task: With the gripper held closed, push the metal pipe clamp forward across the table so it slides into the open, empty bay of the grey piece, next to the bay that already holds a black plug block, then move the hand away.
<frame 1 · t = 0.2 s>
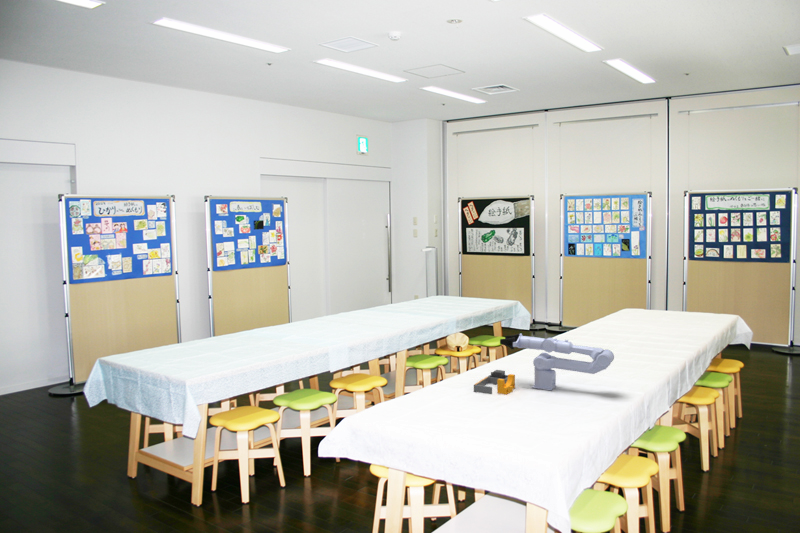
hand: (502, 339, 285), 21 cm above the table, tool horizontal, fingers open, 7 cm apart
pipe clamp: (508, 391, 272), on the table
grey piece: (493, 386, 279), on the table
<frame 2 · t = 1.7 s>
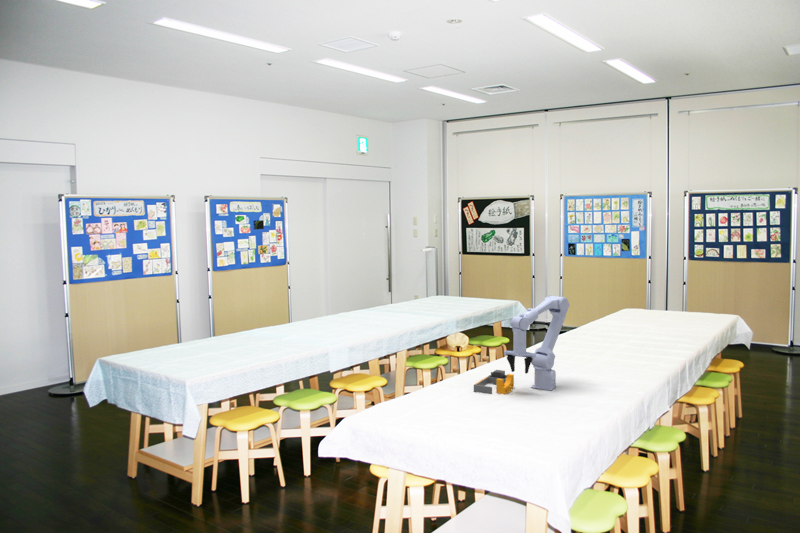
hand: (519, 372, 269), 9 cm above the table, tool pointing down, fingers open, 6 cm apart
nothing on the table moved.
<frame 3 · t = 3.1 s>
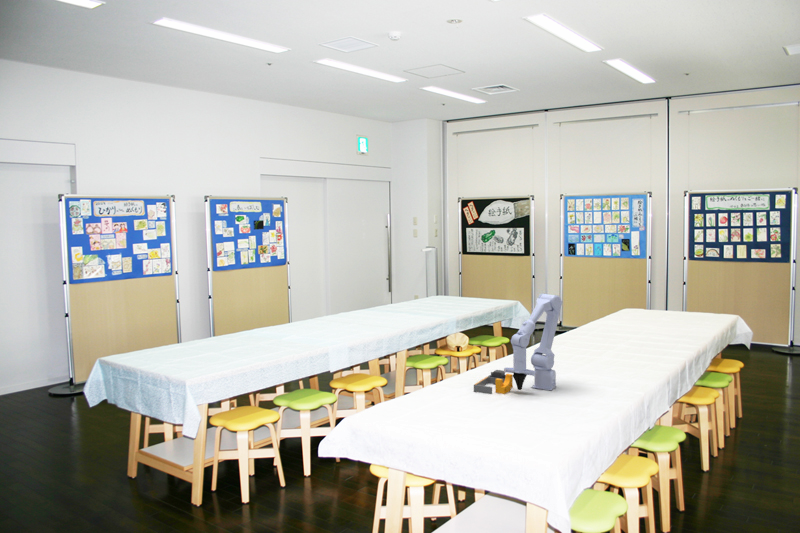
hand: (519, 389, 269), 1 cm above the table, tool pointing down, fingers closed
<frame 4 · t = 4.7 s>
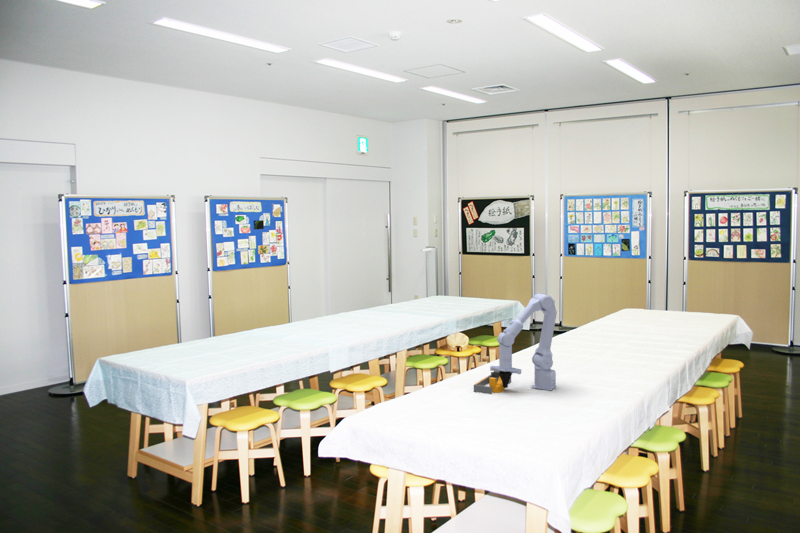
hand: (505, 387, 273), 1 cm above the table, tool pointing down, fingers closed
pipe clamp: (499, 390, 275), on the table, touching gripper
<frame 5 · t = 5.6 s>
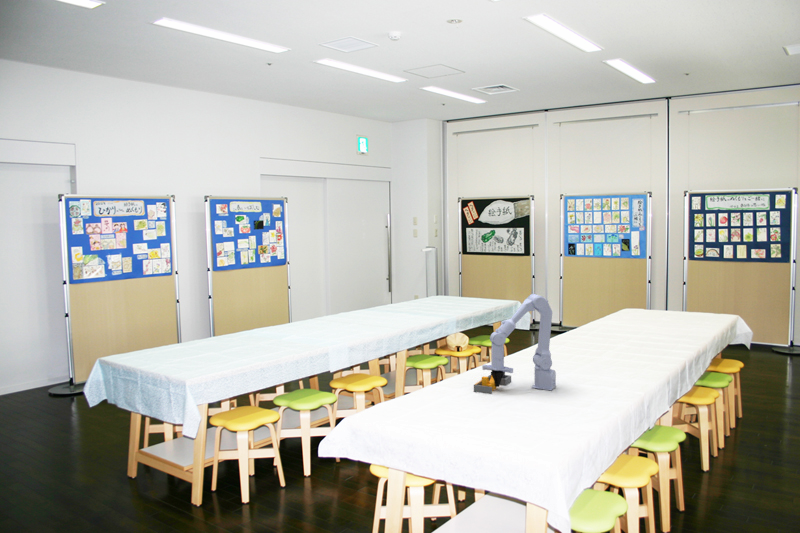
hand: (497, 386, 275), 1 cm above the table, tool pointing down, fingers closed
pipe clamp: (491, 388, 277), on the table, touching gripper
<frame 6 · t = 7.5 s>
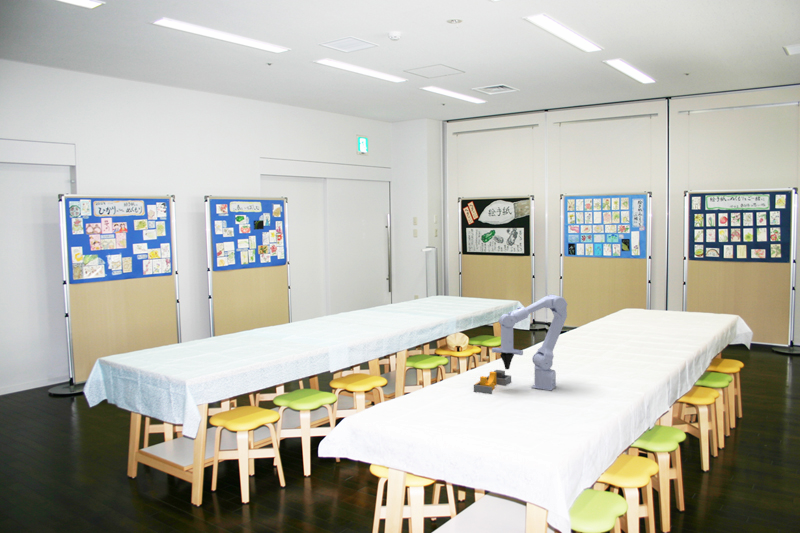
hand: (507, 368, 273), 10 cm above the table, tool pointing down, fingers closed
pipe clamp: (490, 388, 277), on the table
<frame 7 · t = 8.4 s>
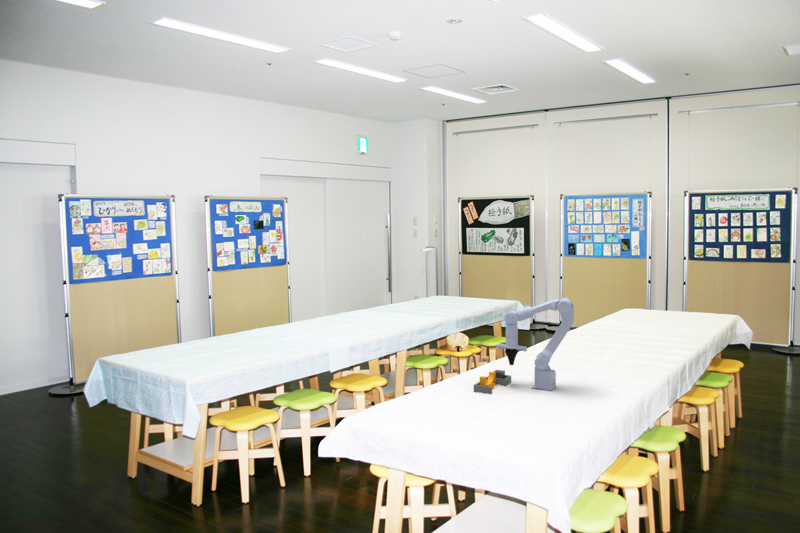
hand: (511, 364, 281), 10 cm above the table, tool pointing down, fingers closed
nothing on the table moved.
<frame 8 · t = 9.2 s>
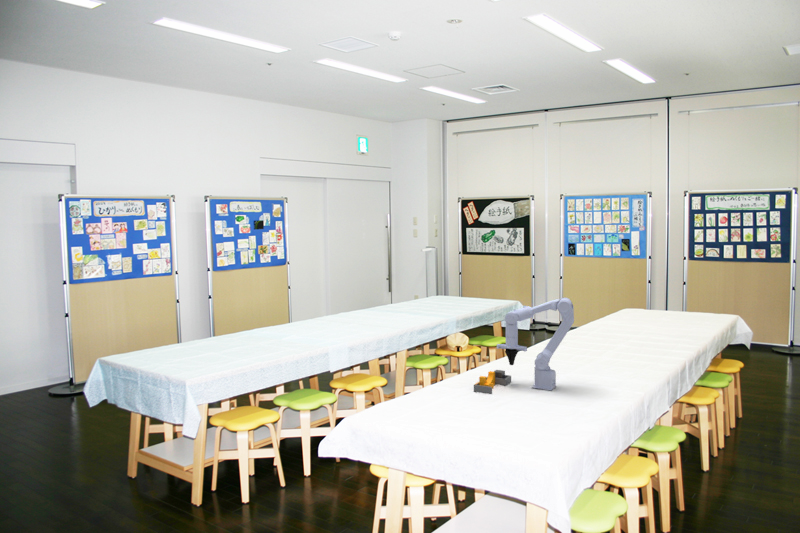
hand: (511, 364, 281), 10 cm above the table, tool pointing down, fingers closed
nothing on the table moved.
at the end: pipe clamp inside the target area (0.8 cm from its centre), on the table; pipe clamp moved 10.0 cm from its start; pipe clamp tilted 0° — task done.
